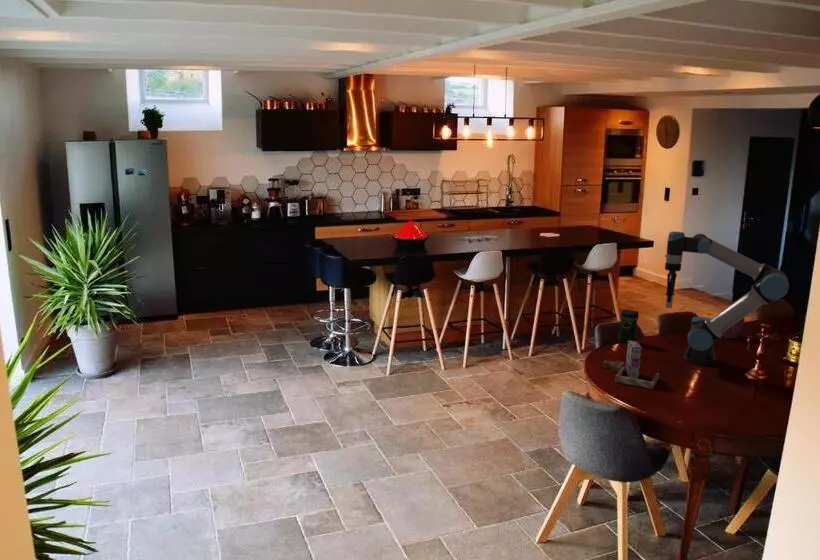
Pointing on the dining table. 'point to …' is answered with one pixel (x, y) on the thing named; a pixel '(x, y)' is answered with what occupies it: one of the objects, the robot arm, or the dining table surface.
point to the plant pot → (733, 330)
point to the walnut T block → (613, 365)
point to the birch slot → (635, 380)
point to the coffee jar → (628, 326)
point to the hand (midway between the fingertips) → (668, 307)
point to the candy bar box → (633, 359)
